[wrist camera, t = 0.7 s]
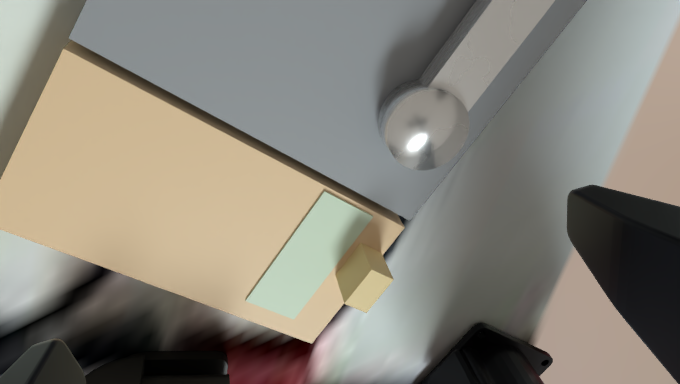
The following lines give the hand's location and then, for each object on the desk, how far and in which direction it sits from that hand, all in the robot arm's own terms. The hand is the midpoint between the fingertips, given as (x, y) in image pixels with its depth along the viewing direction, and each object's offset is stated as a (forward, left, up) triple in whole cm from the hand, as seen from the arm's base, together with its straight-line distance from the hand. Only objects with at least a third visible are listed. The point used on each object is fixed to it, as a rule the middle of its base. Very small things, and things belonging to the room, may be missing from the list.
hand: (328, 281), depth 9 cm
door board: (-1, -1, -14) cm, 14 cm away
